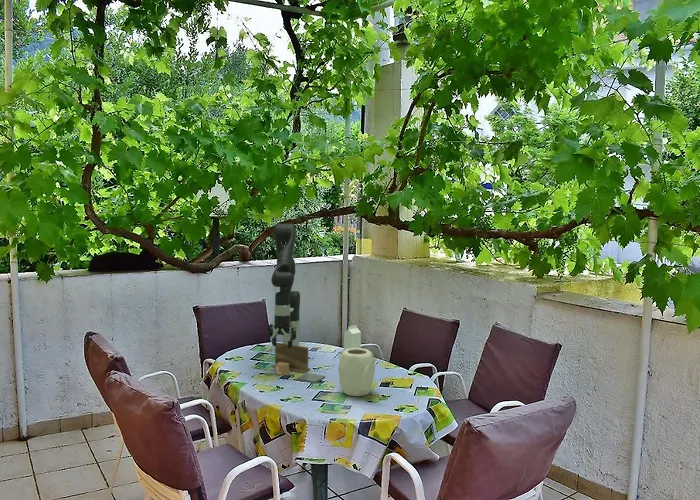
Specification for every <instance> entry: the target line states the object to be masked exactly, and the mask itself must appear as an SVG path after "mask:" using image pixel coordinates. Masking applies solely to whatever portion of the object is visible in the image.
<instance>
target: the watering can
mask: <svg viewBox="0 0 700 500" xmlns="http://www.w3.org/2000/svg"><path fill="white" fill-rule="evenodd" d="M376 362H377V359H376V358H374V354H373V352H372V351H370V350H369V349H366V348H362V347H361V348H349V349H346V350H344V349H343V350H342V353H341V355H340V358H339V361H338V368H337V369H338V376H339V384H340V388H341V392H342V393H344V394H345V395H348V396H351V397H352V396H353V397H362V396H368V395H369V393H370V392H371V390H372V388H373V383H374V378H375V372H376V371H375V369H376Z"/></svg>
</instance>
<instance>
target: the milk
mask: <svg viewBox="0 0 700 500" xmlns="http://www.w3.org/2000/svg"><path fill="white" fill-rule="evenodd" d="M347 328H348V329H346V330H345V331H344V332H343V351H344V350H346V349H349V348H362V347H361V345H362V343H361V342H362V340H361V339H362V332H361V330H360V329H359V328H358V325H357V324H354V325H349V326H348V327H347Z"/></svg>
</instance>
